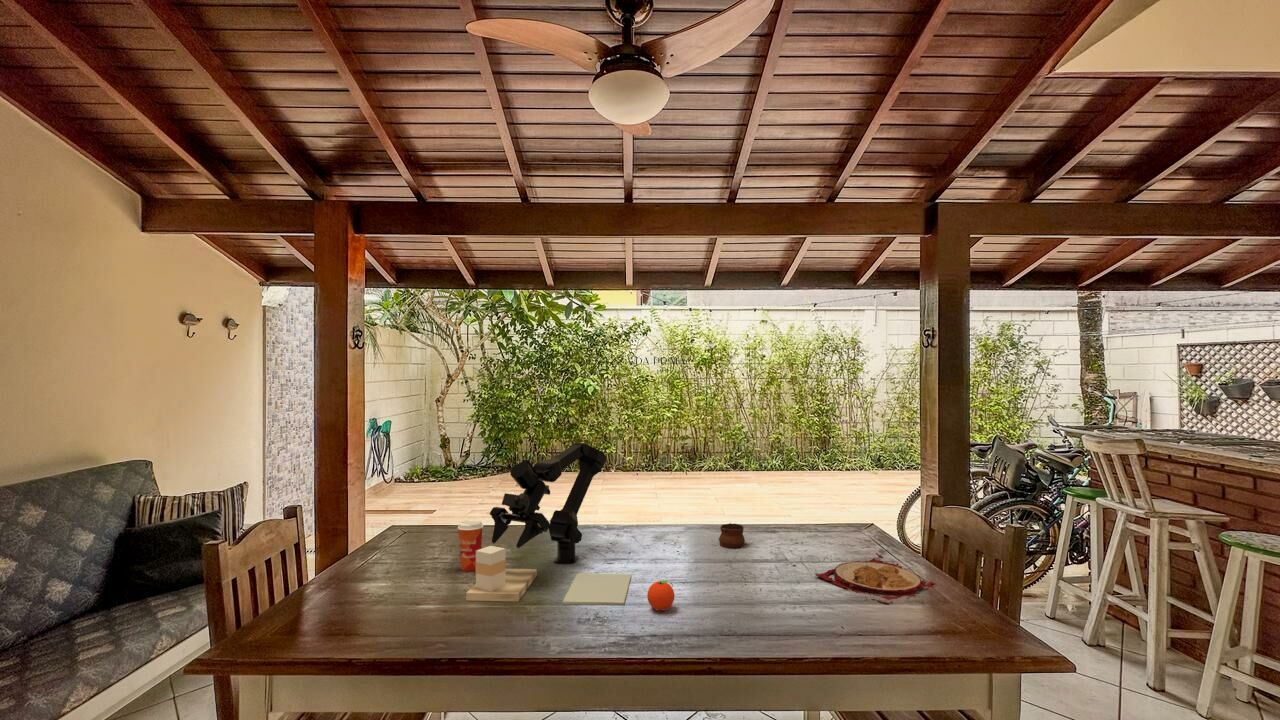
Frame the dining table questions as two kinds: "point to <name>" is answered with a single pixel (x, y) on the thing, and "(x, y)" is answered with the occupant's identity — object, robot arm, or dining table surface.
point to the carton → (490, 568)
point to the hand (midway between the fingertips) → (505, 544)
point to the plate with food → (876, 579)
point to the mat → (598, 589)
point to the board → (506, 587)
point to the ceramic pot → (731, 536)
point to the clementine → (660, 595)
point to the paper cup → (469, 543)
